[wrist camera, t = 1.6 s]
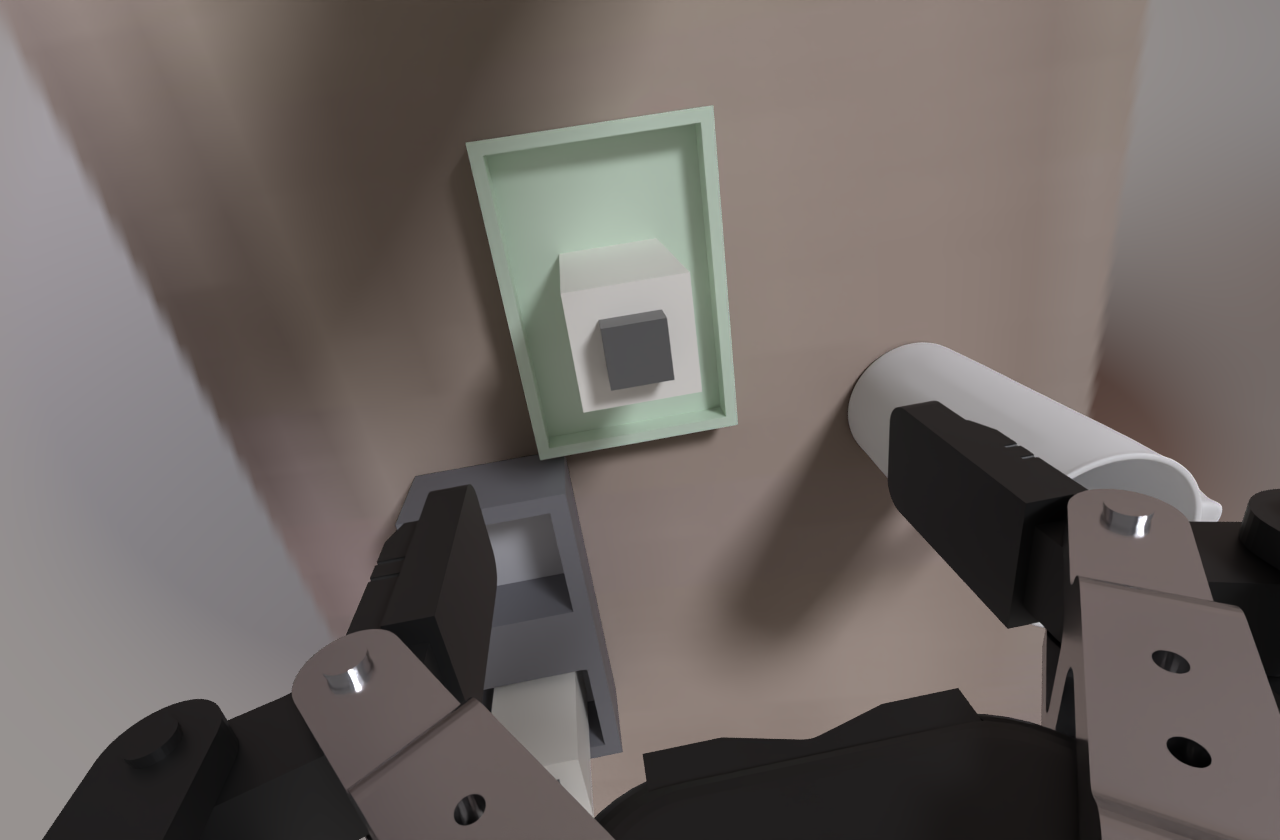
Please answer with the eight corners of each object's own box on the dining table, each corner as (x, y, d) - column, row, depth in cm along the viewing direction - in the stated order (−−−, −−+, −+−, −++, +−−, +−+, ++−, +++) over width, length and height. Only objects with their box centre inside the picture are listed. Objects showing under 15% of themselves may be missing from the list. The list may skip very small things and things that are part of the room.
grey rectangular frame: (415, 476, 29) (395, 524, 25) (564, 449, 29) (565, 493, 26) (495, 714, 36) (489, 779, 32) (615, 690, 36) (622, 751, 33)
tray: (470, 142, 24) (465, 142, 22) (703, 107, 24) (713, 105, 23) (541, 444, 29) (540, 460, 28) (728, 410, 30) (737, 424, 28)
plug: (559, 254, 25) (560, 301, 18) (656, 238, 25) (696, 278, 18) (576, 347, 27) (584, 425, 20) (667, 331, 27) (708, 403, 20)
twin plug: (497, 653, 33) (481, 801, 25) (573, 638, 33) (579, 781, 26) (514, 707, 34) (503, 859, 27) (586, 692, 35) (594, 840, 27)
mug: (831, 465, 32) (975, 637, 21) (851, 337, 29) (1029, 459, 18) (1014, 456, 33) (1241, 614, 22) (1050, 332, 30) (1330, 443, 19)
